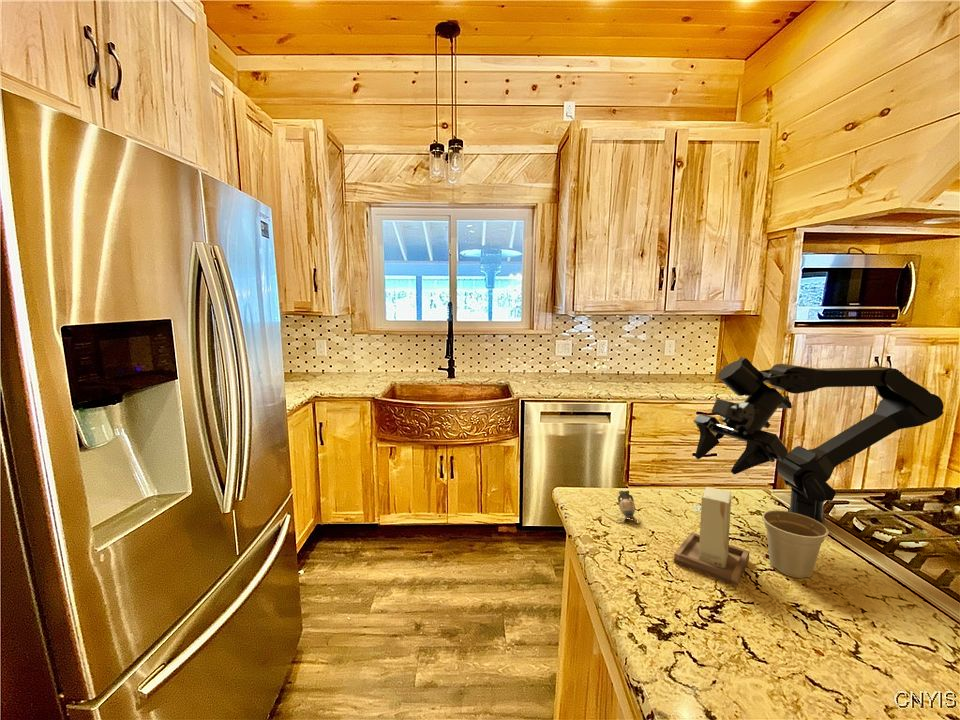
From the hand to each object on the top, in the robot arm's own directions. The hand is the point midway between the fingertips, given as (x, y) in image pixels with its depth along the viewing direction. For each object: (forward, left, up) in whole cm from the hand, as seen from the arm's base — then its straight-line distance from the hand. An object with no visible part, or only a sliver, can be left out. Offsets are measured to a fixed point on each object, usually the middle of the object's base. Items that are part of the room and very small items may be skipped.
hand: (713, 465), depth 87 cm
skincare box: (+14, +4, -13) cm, 20 cm away
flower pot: (+7, +15, -14) cm, 21 cm away
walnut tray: (+14, +4, -14) cm, 20 cm away
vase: (+9, -15, -14) cm, 22 cm away
